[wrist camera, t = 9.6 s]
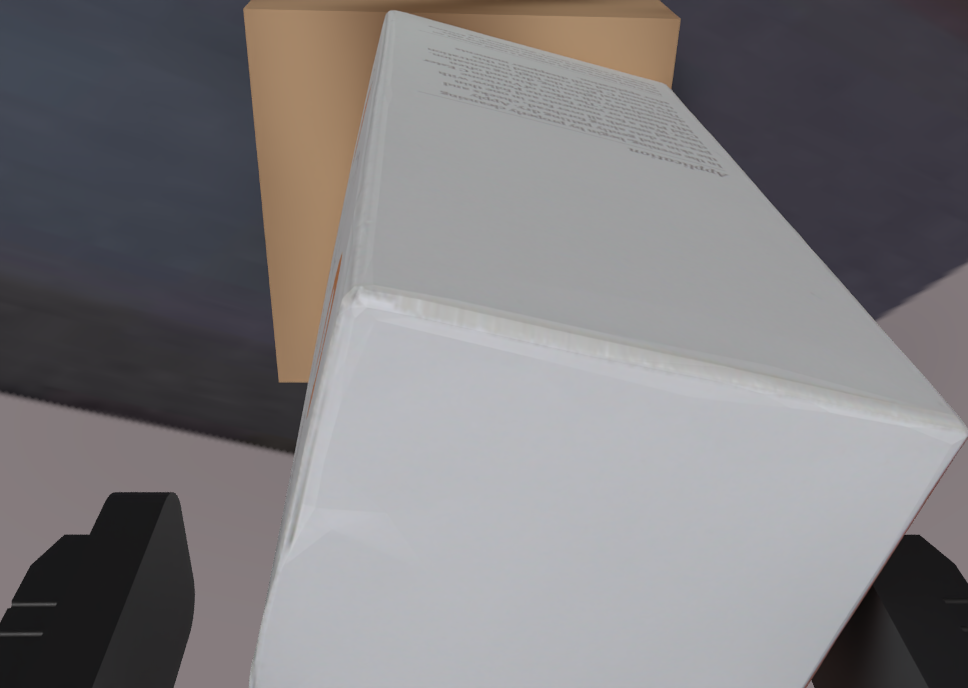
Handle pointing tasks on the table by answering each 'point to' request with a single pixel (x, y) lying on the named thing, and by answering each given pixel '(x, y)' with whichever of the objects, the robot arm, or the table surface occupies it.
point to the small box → (579, 401)
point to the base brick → (340, 102)
